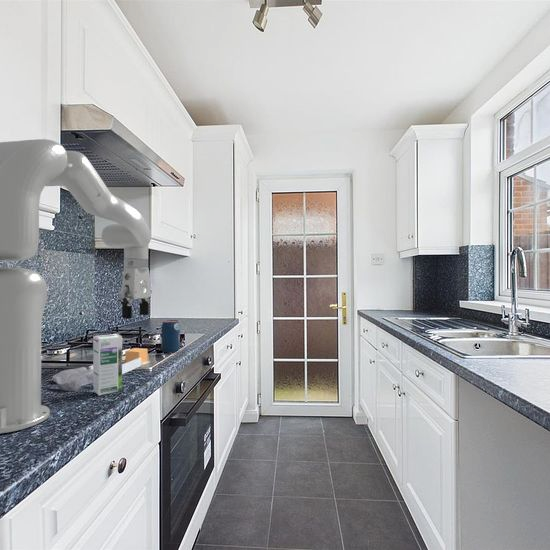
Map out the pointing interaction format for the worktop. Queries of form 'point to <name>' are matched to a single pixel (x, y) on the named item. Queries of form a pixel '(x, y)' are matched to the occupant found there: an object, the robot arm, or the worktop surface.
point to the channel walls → (128, 365)
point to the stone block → (74, 379)
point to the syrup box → (107, 363)
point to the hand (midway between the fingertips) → (135, 316)
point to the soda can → (170, 336)
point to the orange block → (136, 354)
